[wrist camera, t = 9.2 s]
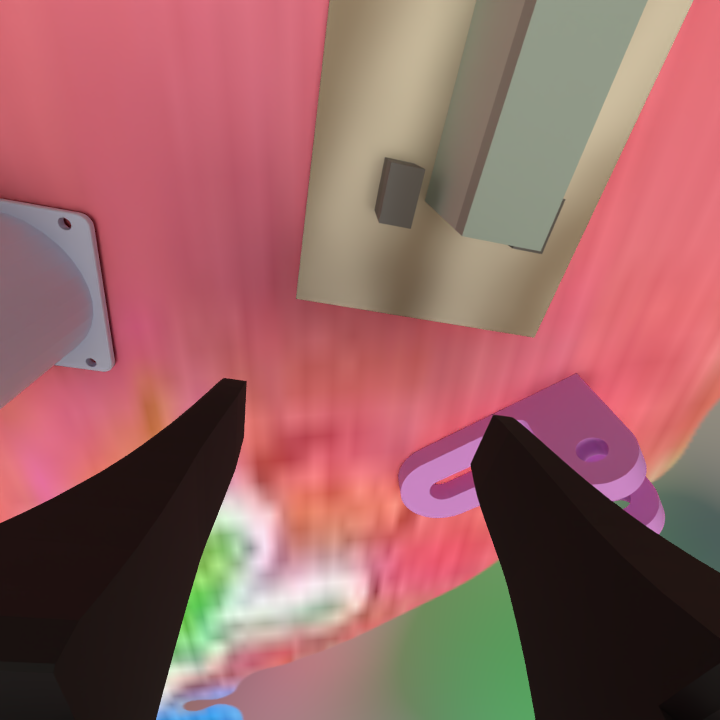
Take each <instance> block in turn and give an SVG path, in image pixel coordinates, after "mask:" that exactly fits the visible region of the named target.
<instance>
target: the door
mask: <svg viewBox="0 0 720 720" xmlns="http://www.w3.org/2000/svg"><path fill="white" fill-rule="evenodd" d="M647 1H648V0H476V4H475V8H474V12H473V16H472V20H471V24H470V28H469V31H468V35H467V39H466V43H465V47H464V51H463V55H462V59H461V62H460V66H459V70H458V74H457V78H456V82H455V86H454V90H453V94H452V97H451V101H450V105H449V109H448V113H447V117H446V121H445V125H444V128H443V132H442V136H441V140H440V144H439V148H438V152H437V156H436V159H435V163H434V167H433V171H432V175H431V179H430V183H429V187H428V190H427V194H426V198H425V202H426V203H427V204H429V205H430V206H431V207H432V208H433V209H434V210H435V211H436V212H437V213H438V214H439V215H440V216H441V217H442V218H443V219H444V220H445V221H446V222H448V223H449V224H450V225H451V226H452V227H453V228H454V229H455V230H456V231H457V232H458V233H459V234H460V235H461V236H464V237H469V238H474V239H479V240H484V241H490V242H495V243H500V244H505V245H510V246H515V247H521V248H526V249H531V250H536V251H541V249H542V247H543V245H544V242H545V240H546V238H547V235H548V233H549V231H550V228H551V226H552V223H553V221H554V219H555V216H556V214H557V212H558V209H559V207H560V205H561V202H562V200H563V198H564V195H565V193H566V191H567V188H568V186H569V184H570V181H571V179H572V177H573V174H574V172H575V170H576V167H577V165H578V163H579V160H580V158H581V156H582V153H583V151H584V149H585V146H586V144H587V141H588V139H589V137H590V134H591V132H592V130H593V127H594V125H595V123H596V120H597V118H598V116H599V113H600V111H601V109H602V106H603V104H604V102H605V99H606V97H607V95H608V92H609V90H610V88H611V85H612V83H613V81H614V78H615V76H616V74H617V71H618V69H619V67H620V64H621V62H622V59H623V57H624V55H625V52H626V50H627V48H628V45H629V43H630V41H631V38H632V36H633V34H634V31H635V29H636V27H637V24H638V22H639V20H640V17H641V15H642V13H643V10H644V8H645V6H646V3H647Z"/></svg>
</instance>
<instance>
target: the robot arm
mask: <svg viewBox="0 0 720 720" xmlns="http://www.w3.org/2000/svg"><path fill="white" fill-rule="evenodd" d="M64 218H66V219H68V220H69V221H70V223H71V228H69V227H68V226H66V225H65V223H64ZM90 358H91V359H93V360H95V361H96V363H95V362H93V361H91V359H90ZM54 365H57V366H65V367H72V368H80V369H88V370H95V371H103V372H106V371H109V370H111V369H112V368H113V366H114V365H115V358H114V352H113V345H112V339H111V332H110V326H109V319H108V313H107V306H106V300H105V293H104V287H103V280H102V274H101V267H100V261H99V254H98V248H97V241H96V235H95V228H94V225H93V222H92V220H91V219H90V218H89V217H88V216H87V215H85V214H83V213H80V212H75V211H69V210H64V209H58V208H52V207H47V206H41V205H35V204H30V203H24V202H19V201H13V200H7V199H2V198H0V409H1V408H3V407H4V406H5V405H6V404H7V403H9V402H10V401H11V400H12V399H14V398H15V397H16V396H17V395H18V394H20V393H21V392H22V391H23V390H24V389H26V388H27V387H28V386H29V385H31V384H32V383H33V382H34V381H35V380H37V379H38V378H39V377H40V376H42V375H43V374H44V373H45V372H46V371H48V370H49V369H50V368H51V367H52V366H54ZM246 383H247V381H241V380H234V379H226V378H223V379H222V380H220V381H219V382H218V383H217V384H216V385H215V386H214V387H213V388H212V389H210V390H209V391H208V392H207V393H206V394H205V395H204V396H203V397H202V398H201V399H199V400H198V401H197V402H196V403H195V404H194V405H193V406H191V407H190V408H189V409H188V410H187V411H185V412H184V413H183V414H182V415H181V416H179V417H178V418H177V419H176V420H175V421H173V422H172V423H171V424H170V425H168V426H167V427H166V428H164V429H163V430H162V431H160V432H159V433H158V434H156V435H155V436H154V437H152V438H151V439H150V440H148V441H147V442H146V443H144V444H143V445H142V446H140V447H139V448H137V449H136V450H134V451H133V452H131V453H130V454H128V455H127V456H125V457H124V458H122V459H121V460H119V461H118V462H116V463H114V464H113V465H111V466H110V467H108V468H106V469H105V470H103V471H102V472H100V473H98V474H96V475H95V476H93V477H91V478H89V479H87V480H86V481H84V482H82V483H80V484H78V485H76V486H75V487H73V488H71V489H69V490H67V491H65V492H64V493H62V494H60V495H58V496H56V497H54V498H52V499H50V500H48V501H46V502H44V503H42V504H40V505H38V506H36V507H34V508H32V509H30V510H28V511H26V512H24V513H22V514H20V515H17V516H15V517H13V518H11V519H9V520H6V521H4V522H2V523H0V720H156V717H157V713H158V709H159V705H160V702H161V698H162V694H163V690H164V687H165V683H166V679H167V675H168V672H169V668H170V664H171V661H172V657H173V653H174V649H175V646H176V642H177V639H178V635H179V632H180V628H181V624H182V621H183V617H184V614H185V610H186V607H187V603H188V600H189V596H190V593H191V589H192V586H193V583H194V579H195V576H196V572H197V569H198V565H199V562H200V559H201V556H202V554H203V551H204V548H205V545H206V542H207V540H208V537H209V535H210V532H211V530H212V527H213V525H214V522H215V520H216V517H217V515H218V512H219V510H220V507H221V505H222V502H223V500H224V497H225V495H226V492H227V489H228V487H229V484H230V482H231V479H232V477H233V474H234V472H235V469H236V465H237V461H238V458H239V454H240V450H241V446H242V442H243V438H244V423H245V403H246ZM471 470H472V475H473V481H474V485H475V490H476V494H477V498H478V501H479V504H480V507H481V510H482V513H483V516H484V519H485V521H486V524H487V527H488V530H489V533H490V536H491V538H492V541H493V544H494V547H495V550H496V553H497V555H498V558H499V561H500V564H501V567H502V570H503V573H504V576H505V579H506V582H507V586H508V589H509V594H510V598H511V602H512V606H513V610H514V614H515V618H516V623H517V627H518V631H519V636H520V641H521V645H522V650H523V655H524V659H525V664H526V670H527V675H528V680H529V686H530V691H531V696H532V702H533V708H534V713H535V720H720V573H719V572H718V571H716V570H714V569H713V568H711V567H709V566H708V565H706V564H704V563H702V562H701V561H699V560H698V559H696V558H694V557H692V556H691V555H689V554H688V553H686V552H685V551H683V550H682V549H680V548H679V547H677V546H675V545H674V544H672V543H671V542H669V541H668V540H666V539H665V538H663V537H662V536H660V535H659V534H657V533H656V532H654V531H653V530H651V529H650V528H648V527H647V526H645V525H644V524H643V523H641V522H640V521H638V520H637V519H636V518H634V517H633V516H631V515H630V514H629V513H627V512H626V511H624V510H623V509H622V508H620V507H619V506H618V505H616V504H615V503H614V502H613V501H611V500H610V499H609V498H607V497H606V496H605V495H604V494H602V493H601V492H600V491H599V490H597V489H596V488H595V487H594V486H593V485H591V484H590V483H589V482H588V481H586V480H585V479H584V478H583V477H582V476H580V475H579V474H578V473H577V472H576V471H575V470H573V469H572V468H571V467H570V466H569V465H568V464H566V463H565V462H564V461H563V460H562V459H561V458H560V457H559V456H557V455H556V454H555V453H554V452H553V451H552V450H551V449H550V448H548V447H547V446H546V445H545V444H544V443H543V442H542V441H541V440H539V439H538V438H537V437H536V436H535V435H534V434H533V433H531V432H530V431H529V430H528V429H527V428H526V427H524V426H523V425H522V424H521V423H520V422H518V421H517V420H516V419H514V418H513V417H508V416H501V415H493V416H492V418H491V420H490V423H489V425H488V427H487V429H486V431H485V433H484V436H483V438H482V440H481V442H480V444H479V446H478V448H477V451H476V453H475V455H474V457H473V459H472V461H471Z"/></svg>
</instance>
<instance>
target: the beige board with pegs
mask: <svg viewBox="0 0 720 720" xmlns="http://www.w3.org/2000/svg"><path fill="white" fill-rule="evenodd" d="M692 2H693V0H648V1H647V3H646V6H645V8H644V10H643V13H642V15H641V17H640V20H639V22H638V24H637V27H636V29H635V31H634V34H633V36H632V38H631V41H630V43H629V45H628V48H627V50H626V52H625V55H624V57H623V59H622V62H621V64H620V67H619V69H618V71H617V74H616V76H615V78H614V81H613V83H612V85H611V88H610V90H609V92H608V95H607V97H606V99H605V102H604V104H603V106H602V109H601V111H600V113H599V116H598V118H597V120H596V123H595V125H594V127H593V130H592V132H591V134H590V137H589V139H588V141H587V144H586V146H585V149H584V151H583V153H582V156H581V158H580V160H579V163H578V165H577V167H576V170H575V172H574V174H573V177H572V179H571V181H570V184H569V186H568V188H567V191H566V193H565V195H564V198H563V200H562V202H561V205H560V207H559V209H558V212H557V214H556V216H555V219H554V221H553V223H552V226H551V228H550V231H549V233H548V235H547V238H546V240H545V242H544V245H543V247H542V249H541V251H536V250H531V249H526V248H521V247H515V246H510V245H505V244H500V243H495V242H490V241H484V240H479V239H474V238H469V237H464V236H461V235H460V234H459V233H458V232H457V231H456V230H455V229H454V228H453V227H452V226H451V225H450V224H449V223H448V222H446V221H445V220H444V219H443V218H442V217H441V216H440V215H439V214H438V213H437V212H436V211H435V210H434V209H433V208H432V207H431V206H430V205H429V204H427V203H426V202H425V198H426V194H427V190H428V187H429V183H430V179H431V175H432V171H433V167H434V163H435V159H436V156H437V152H438V148H439V144H440V140H441V136H442V132H443V128H444V125H445V121H446V117H447V113H448V109H449V105H450V101H451V97H452V94H453V90H454V86H455V82H456V78H457V74H458V70H459V66H460V62H461V59H462V55H463V51H464V47H465V43H466V39H467V35H468V31H469V28H470V24H471V20H472V16H473V12H474V8H475V4H476V0H330V1H329V10H328V19H327V28H326V37H325V46H324V54H323V63H322V72H321V81H320V90H319V99H318V108H317V117H316V125H315V134H314V143H313V152H312V161H311V170H310V179H309V187H308V196H307V205H306V214H305V223H304V232H303V241H302V250H301V258H300V267H299V276H298V285H297V294H296V299H301V300H307V301H313V302H319V303H325V304H332V305H338V306H344V307H350V308H356V309H362V310H368V311H374V312H381V313H387V314H393V315H399V316H405V317H411V318H417V319H423V320H430V321H436V322H442V323H448V324H454V325H460V326H466V327H473V328H479V329H485V330H491V331H497V332H503V333H509V334H515V335H522V336H528V337H535V335H536V333H537V331H538V328H539V326H540V324H541V322H542V320H543V318H544V316H545V314H546V311H547V309H548V307H549V305H550V303H551V301H552V299H553V297H554V295H555V292H556V290H557V288H558V286H559V284H560V282H561V280H562V278H563V275H564V273H565V271H566V269H567V267H568V265H569V263H570V261H571V258H572V256H573V254H574V252H575V250H576V248H577V246H578V244H579V242H580V239H581V237H582V235H583V233H584V231H585V229H586V227H587V225H588V222H589V220H590V218H591V216H592V214H593V212H594V210H595V208H596V205H597V203H598V201H599V199H600V197H601V195H602V193H603V191H604V189H605V186H606V184H607V182H608V180H609V178H610V176H611V174H612V172H613V169H614V167H615V165H616V163H617V161H618V159H619V157H620V155H621V152H622V150H623V148H624V146H625V144H626V142H627V140H628V138H629V135H630V133H631V131H632V129H633V127H634V125H635V123H636V121H637V119H638V116H639V114H640V112H641V110H642V108H643V106H644V104H645V102H646V99H647V97H648V95H649V93H650V91H651V89H652V87H653V85H654V82H655V80H656V78H657V76H658V74H659V72H660V70H661V68H662V66H663V63H664V61H665V59H666V57H667V55H668V53H669V51H670V49H671V46H672V44H673V42H674V40H675V38H676V36H677V34H678V32H679V29H680V27H681V25H682V23H683V21H684V19H685V17H686V15H687V13H688V10H689V8H690V6H691V4H692Z"/></svg>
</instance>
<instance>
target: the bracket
mask: <svg viewBox="0 0 720 720" xmlns="http://www.w3.org/2000/svg"><path fill="white" fill-rule="evenodd" d="M493 415H501V416H508V417H513V418H514V419H516V420H517V421H518V422H520V423H521V424H522V425H523V426H524V427H526V428H527V429H528V430H529V431H530V432H531V433H533V434H534V435H535V436H536V437H537V438H538V439H539V440H541V441H542V442H543V443H544V444H545V445H546V446H547V447H548V448H550V449H551V450H552V451H553V452H554V453H555V454H556V455H557V456H559V457H560V458H561V459H562V460H563V461H564V462H565V463H566V464H568V465H569V466H570V467H571V468H572V469H573V470H575V471H576V472H577V473H578V474H579V475H580V476H582V477H583V478H584V479H585V480H586V481H588V482H589V483H590V484H591V485H593V486H594V487H595V488H596V489H597V490H599V491H600V492H601V493H602V494H604V495H605V496H606V497H607V498H609V499H610V500H611V501H617V500H624V501H627V502H629V503H630V504H629V506H628V507H626V508H625V509H623V510H624V511H626V512H627V513H629V514H630V515H631V516H633V517H634V518H636V519H637V520H638V521H640V522H641V523H643V524H644V525H645V526H647V527H648V528H650V529H651V530H653V531H654V532H656V533H657V534H659V533H660V532H661V531H662V529H663V526H664V522H665V513H664V509H663V507H662V504H661V501H660V499H659V496H658V494H657V491H656V489H655V488H654V486H653V485H652V483H651V482H650V481H649V480H648V479H647V478H646V463H645V460H644V457H643V454H642V452H641V449H640V447H639V444H638V441H637V439H636V437H635V436H634V435H633V433H632V432H631V431H630V430H629V429H628V428H627V427H626V426H625V425H624V424H623V422H622V421H621V420H620V419H619V418H618V417H617V416H616V415H615V414H614V413H613V412H612V411H611V410H610V409H609V407H608V406H607V405H606V404H605V403H604V402H603V401H602V400H601V399H600V398H599V397H598V396H597V395H596V394H595V392H594V391H593V390H592V389H591V388H590V387H589V386H588V385H587V384H586V383H585V382H584V381H583V380H582V379H581V377H580V376H579V375H578V374H577V373H576V374H574V375H572V376H570V377H568V378H566V379H564V380H562V381H560V382H558V383H555V384H553V385H551V386H549V387H547V388H545V389H543V390H541V391H539V392H537V393H535V394H533V395H531V396H529V397H527V398H525V399H523V400H521V401H519V402H517V403H515V404H512V405H510V406H508V407H506V408H504V409H502V410H500V411H498V412H496V413H494V414H492V415H490V416H488V417H486V418H484V419H482V420H480V421H478V422H476V423H474V424H472V425H470V426H467V427H465V428H463V429H461V430H459V431H457V432H455V433H453V434H451V435H449V436H447V437H445V438H443V439H441V440H439V441H437V442H435V443H433V444H431V445H429V446H427V447H424V448H422V449H420V450H418V451H417V452H415V453H413V454H412V455H411V456H410V457H408V458H407V459H406V460H405V462H404V463H403V464H402V466H401V468H400V471H399V475H398V479H399V486H400V493H401V498H402V501H403V503H404V504H405V506H406V507H407V508H408V509H410V510H411V511H412V512H414V513H416V514H419V515H421V516H425V517H431V518H444V517H451V516H455V515H458V514H461V513H463V512H466V511H468V510H470V509H473V508H475V507H478V506H480V504H479V501H478V498H477V494H476V490H475V485H474V481H473V475H472V471H471V472H469V473H466V474H464V475H462V476H460V477H458V478H455V479H453V480H451V481H449V482H447V483H444V484H434V483H436V482H438V481H440V480H442V479H444V478H446V477H449V476H451V475H453V474H455V473H457V472H460V471H462V470H464V469H466V468H468V467H470V466H471V461H472V459H473V457H474V455H475V453H476V451H477V448H478V446H479V444H480V442H481V440H482V438H483V436H484V433H485V431H486V429H487V427H488V425H489V423H490V420H491V418H492V416H493Z"/></svg>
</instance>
